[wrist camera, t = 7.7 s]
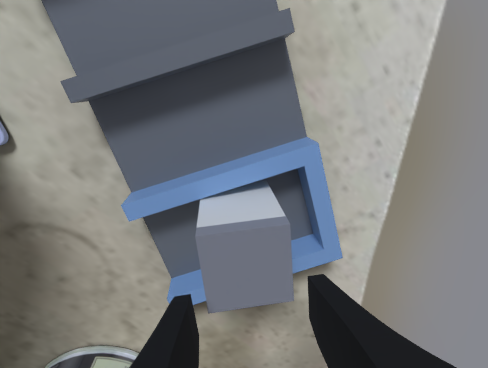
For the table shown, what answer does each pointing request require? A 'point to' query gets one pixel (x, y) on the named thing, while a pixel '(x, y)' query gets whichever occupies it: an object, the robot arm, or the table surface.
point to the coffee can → (95, 358)
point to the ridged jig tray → (198, 116)
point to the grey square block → (244, 248)
